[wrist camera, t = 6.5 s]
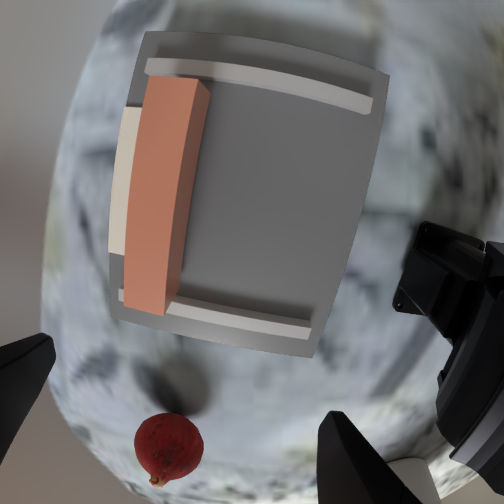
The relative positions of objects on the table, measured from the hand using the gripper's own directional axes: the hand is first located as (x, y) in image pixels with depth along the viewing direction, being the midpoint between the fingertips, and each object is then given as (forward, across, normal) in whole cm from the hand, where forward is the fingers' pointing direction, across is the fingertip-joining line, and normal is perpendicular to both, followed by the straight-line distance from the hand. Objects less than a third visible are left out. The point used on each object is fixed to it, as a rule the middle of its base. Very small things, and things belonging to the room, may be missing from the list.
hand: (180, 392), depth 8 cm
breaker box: (+11, 0, -4) cm, 12 cm away
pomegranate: (+11, +2, +16) cm, 20 cm away
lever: (+8, +3, -4) cm, 9 cm away
